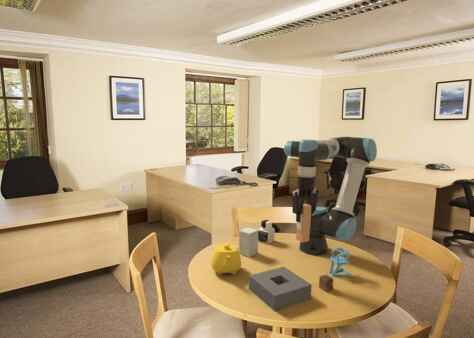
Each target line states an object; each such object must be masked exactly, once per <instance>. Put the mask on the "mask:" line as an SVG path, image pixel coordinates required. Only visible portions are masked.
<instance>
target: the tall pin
mask: <svg viewBox="0 0 474 338" xmlns="http://www.w3.org/2000/svg"><path fill="white" fill-rule="evenodd" d="M301 215H303V218H302V230H300V229H297V228H296V233H295V234H296V235H295V236H296V237H295V240H296V241H299V243H300V242H307V241H309V235H310V219H311V205H308V204H306V203H304V204H303V208H302V213H301Z"/></svg>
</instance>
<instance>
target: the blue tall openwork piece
mask: <svg viewBox="0 0 474 338" xmlns="http://www.w3.org/2000/svg"><path fill="white" fill-rule="evenodd" d="M336 251H338V252H339V251H340V253H339V254H337V255H336V256H335V255H334V252H336ZM330 252H331V256H330V257H329V258H330V260H331V263H330V268H329V271H328V272H329V274H331V277H342V278H345V277H346V278H351V277H352V274H351V273H350V272H349V271H348V270H347V269H345V267H342V266H343V265H346V264H349V265H350V264H351V262H350V260H349V257H350V255H351V254H350V252H349V250H348V249H347V248H343V247H336V248H334V249H332V250H331V251H330ZM345 256H346V257H345ZM335 265H336V267H335V269H334V266H335ZM340 271H343V272H344V273H337V272H340Z"/></svg>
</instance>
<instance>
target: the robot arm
mask: <svg viewBox="0 0 474 338" xmlns="http://www.w3.org/2000/svg"><path fill="white" fill-rule="evenodd" d="M377 151H378V150H377V144H376V142H375V140H374V139H373V138H368V137H355V136H339V137H331V138H330V137H329V138H327V139H326V140H324V139H323V140H322V139H321V140H316V139H301V140H300V141H299V140H288V141H286V143H285V144H284V146H283V152H284V155H286V157H291V158H298V165H297V179H296V180H297V181H296V183H297V188H296V190H292V191H291V194H292V205H291V206H292V209H291V210H292V214H295V222H296V230H297V229H300V230H302V218H303V215H301V213H302V208H303V204H308V205H311V219H310V235H309V241H307V242H300V241H299V245H298V247H299V250H300V251H301V252H302V253H304V254H308V255H313V256H314V255H315V256H317V255H318V256H320V255H325V254H327V253H328V252H329V245H328V242H327V237H328V236H329V237H332V238H335V239H337V240H342V241H348V240H349V239H350V238H352V236H354V234H355V232H356V229H357V223H358V222H357V220H356V218H355V214H354V213H353V211H354V206H355V204H356V200H357V196H358V193H359V190H360V188H361V187H360V186H361V183H362V179H363V176H364V172H365V169H366V168H367V167H369V165H370V163H371V162H374V161H375V160H376V158H377ZM331 157H338V158H343V159H345V160H346V162H347V166H346V169H345V173H344V176H343V180H342V183H341V187H340V190H339V193H338V196H337V200H336V203H335V206H334V207H332V208H331V210H330V211H329V212H328V209H327V207H324V206H317V203H318V194H319V192H320V190H319V189H317V188H315V185H316V177H315V176H316V173H317V162H319V161H326V160H329V159H331ZM305 201H306V202H305ZM326 236H327V237H326Z"/></svg>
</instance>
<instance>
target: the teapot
mask: <svg viewBox="0 0 474 338" xmlns="http://www.w3.org/2000/svg"><path fill="white" fill-rule="evenodd" d="M210 262H211V267H212V270H213V271H214V272H216V275H217V276H222V275H223V274H231V275H233V276H234V275H237V272H238V271H239V270H240V269H241V267H242V259H241V254H239V248H237V246H236V245H234V244H229V243H223V244H219V245H216V247H215V248H214V251H213V253H212V257H211V261H210Z"/></svg>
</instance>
